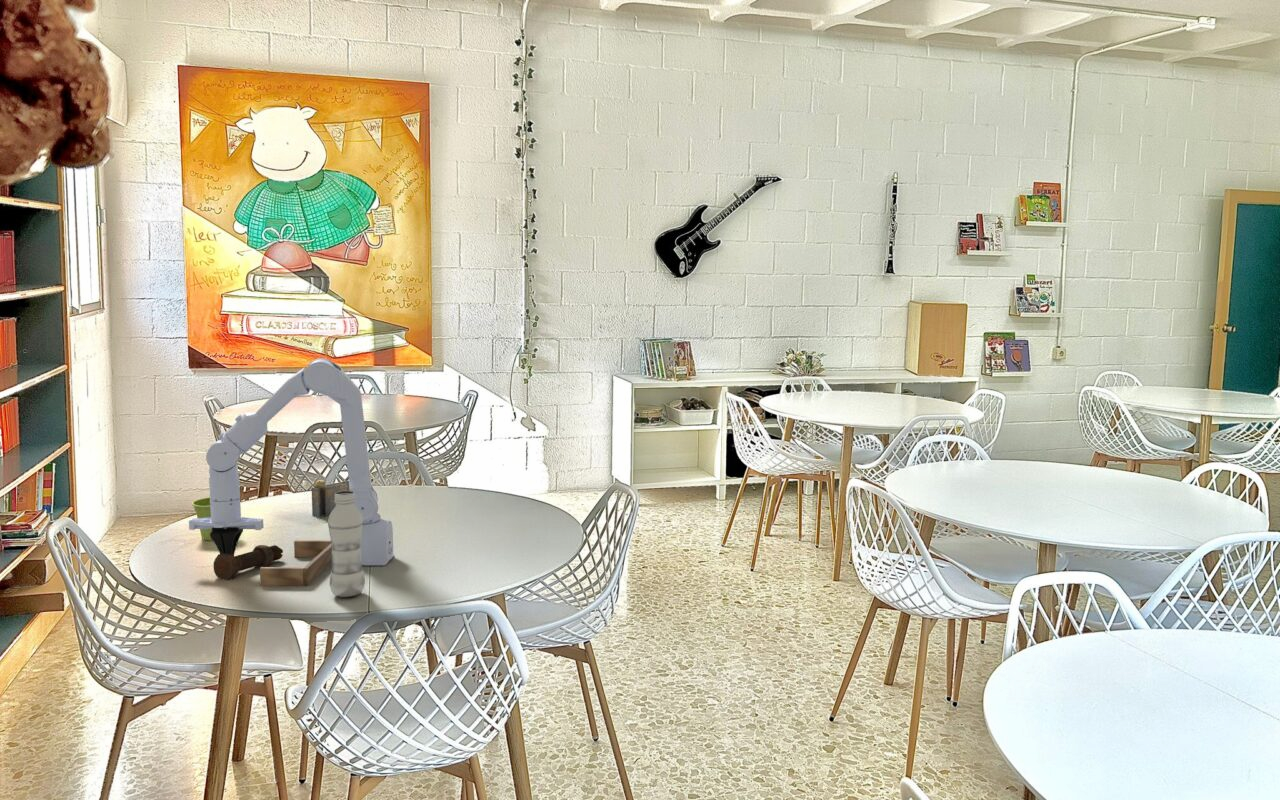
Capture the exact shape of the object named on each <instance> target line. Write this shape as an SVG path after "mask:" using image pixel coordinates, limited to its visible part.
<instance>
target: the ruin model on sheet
mask: <svg viewBox="0 0 1280 800" xmlns="http://www.w3.org/2000/svg"><path fill="white" fill-rule="evenodd" d="M326 481H327V479H324V480H322V481H321V480H319V481H317V482H315V483H314V484H313V483H312V487H311V488H310V489H311V509H312V511H311V512H312V513H311V514H312V516H313V517H315V516H316V517H317V518H320V516H321V515H323V514H325V516H329V515H330V514H331V512H332V510H333V509H334V508H335V506H336V504H335V503H334V500H335V493H336V492H339V491H350V490H349V480H345V481H340V482H333V483H329V484H326Z"/></svg>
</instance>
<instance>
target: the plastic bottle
mask: <svg viewBox="0 0 1280 800" xmlns="http://www.w3.org/2000/svg"><path fill="white" fill-rule="evenodd" d="M354 502H355V496H354V491H339V492H336V493H335V500H334V503H335V504H336V506H335V508H334V509H333V510H332V512H331V514H330V515H328V520H327V526H328V531H329V537H330V540H331V548H332V563H331V572H330V577H329V586H330V587H329V588H330V591H331V593H332V594H333V595H334V596H335V597H339V598H348V597H349V598H350V597H354V596H358V595H360V594H361V593H362V592H363V590H364V589H365V584H366V579H365V573H364V570H363V565H362V561H361V548H360V546H361V532H362V523H363V518H362V515H361V513H360V512H359V510H358V509H357V508H356V507H355V505H354Z"/></svg>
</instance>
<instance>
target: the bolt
mask: <svg viewBox="0 0 1280 800" xmlns="http://www.w3.org/2000/svg"><path fill="white" fill-rule="evenodd" d="M283 553H284V550H283V548H281V547H279V546H278V545H276V544H274V545H270V546H268V545H266V544H264V545H263V544H259V545H255V547H254V548H253V550H252V551H249V552H245V553H241V554H239V555H235V554H234V555H231V554H225V553H222V554H220V553H218V554H217V556H216V557H215V559H214V560H213V572H214V574H215V576H216V578H218V579H219V578H220V579H219V580H223V579H224V580H223V581H230V580H231V579H232V580H235V578H236V576H237V574H238V572H242V571H245V570H247V569H249V570H250V569H252V568H255V567H258V568H261V567H267V566H268V567H270V566H271V565H272V563H273V562H275V561H278V560H281V559H282V558H283V556H284V555H283Z"/></svg>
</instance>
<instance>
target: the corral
mask: <svg viewBox="0 0 1280 800" xmlns="http://www.w3.org/2000/svg"><path fill="white" fill-rule="evenodd" d="M293 549H294V552H293V553H294V558H313V559H312V560H311V561H310V562H308V563H307V564H306V565H305V566H304V567H303V566H301V567H300V566H299V567H298V566H297V567H296V566H295V567H294V566H291V567H290V566H287V567H286V566H271V567H270V566H268V567H259V574H260V575H259V576H260V577H259V580H260V582H259V583H260V586H261V587H262V586H263V587H264V586H269V587H270V586H271V587H272V586H273V587H274V586H276V587H281V586H282V587H297V586H298V587H299V586H300V587H308V586H310V584H311V583H312V582H313V581H314V580H315V579H316V578H318V576H320V575H321V573H323V572H324V571H325V570H326V569H327V568H328V567H329V566H330V565H332V548H331V539H329V540H327V539H326V540H325V539H322V540H318V539H315V540H313V539H312V540H311V539H310V540H309V539H308V540H306V539H304V540H303V539H302V540H301V539H300V540H298V539H295V540H294V541H293Z"/></svg>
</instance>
